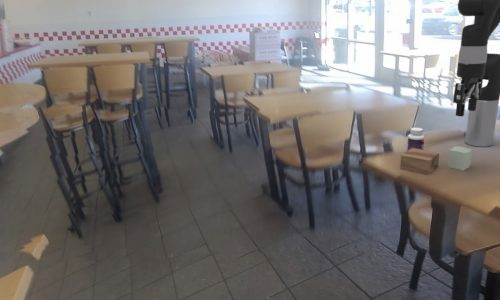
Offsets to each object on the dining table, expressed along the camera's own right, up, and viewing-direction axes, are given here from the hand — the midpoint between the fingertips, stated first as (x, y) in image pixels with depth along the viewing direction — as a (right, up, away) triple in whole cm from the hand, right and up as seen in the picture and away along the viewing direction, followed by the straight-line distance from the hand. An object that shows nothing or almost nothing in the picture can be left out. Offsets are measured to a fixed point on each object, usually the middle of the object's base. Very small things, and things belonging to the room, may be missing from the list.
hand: (465, 113), depth 128 cm
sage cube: (+1, -17, +6) cm, 18 cm away
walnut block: (-12, -18, +7) cm, 22 cm away
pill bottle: (-9, -14, +18) cm, 24 cm away
